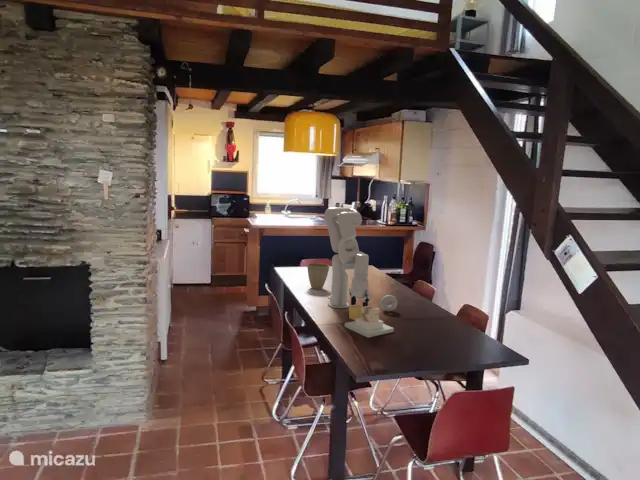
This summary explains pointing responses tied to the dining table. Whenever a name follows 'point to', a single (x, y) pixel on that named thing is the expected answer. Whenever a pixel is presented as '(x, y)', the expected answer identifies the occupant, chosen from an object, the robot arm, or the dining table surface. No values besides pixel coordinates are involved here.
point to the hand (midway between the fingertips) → (359, 306)
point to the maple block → (370, 313)
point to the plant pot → (317, 274)
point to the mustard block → (355, 312)
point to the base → (369, 332)
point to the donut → (384, 301)
